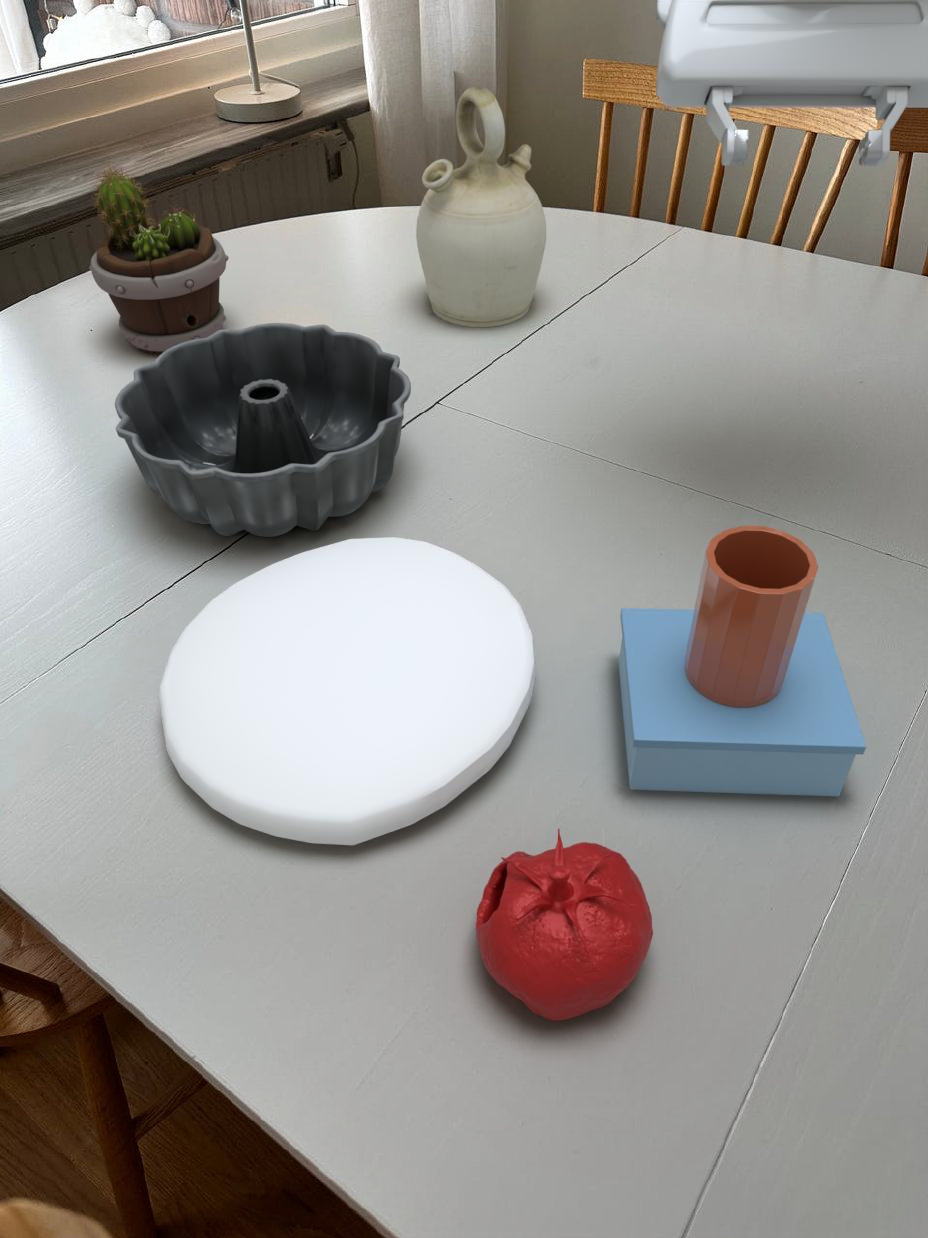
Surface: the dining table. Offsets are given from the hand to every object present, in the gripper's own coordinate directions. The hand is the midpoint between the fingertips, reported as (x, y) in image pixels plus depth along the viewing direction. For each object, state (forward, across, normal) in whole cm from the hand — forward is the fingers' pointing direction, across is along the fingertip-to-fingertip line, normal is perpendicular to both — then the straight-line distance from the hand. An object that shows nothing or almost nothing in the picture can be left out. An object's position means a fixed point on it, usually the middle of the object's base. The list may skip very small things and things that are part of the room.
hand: (804, 161), depth 67 cm
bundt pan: (+18, -42, +26) cm, 53 cm away
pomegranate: (+52, -16, -8) cm, 55 cm away
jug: (-9, -24, +53) cm, 59 cm away
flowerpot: (-2, -60, +47) cm, 76 cm away
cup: (+35, -4, +1) cm, 35 cm away
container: (+39, -4, +5) cm, 40 cm away
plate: (+38, -31, +6) cm, 49 cm away
